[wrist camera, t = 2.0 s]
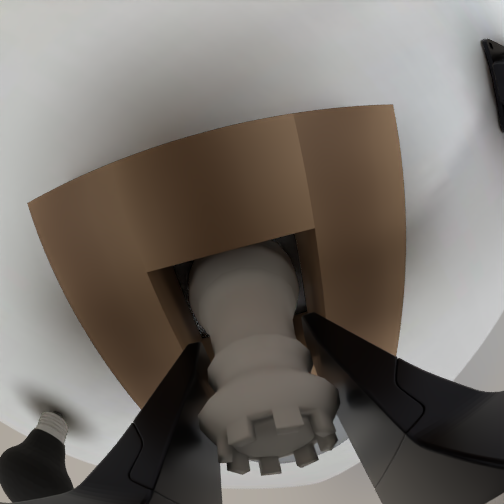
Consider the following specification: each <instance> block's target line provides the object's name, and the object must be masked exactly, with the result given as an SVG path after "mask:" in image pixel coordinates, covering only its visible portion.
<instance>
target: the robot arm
mask: <svg viewBox="0 0 504 504" xmlns="http://www.w3.org/2000/svg"><path fill="white" fill-rule="evenodd" d="M483 46H484V49H485V52H486V55H487V59H488V62H489V66H490V70H491V74H492V78H493V83H494V87H495V92H496V98H497V103H498V110H499V116H500V124H501V129H502V131H503V132H504V46H502V45H500V44H498V43H496V42H494V41H492V40H490V39H483ZM301 320H302V326H303V332H304V338H305V341H306V344H307V347H308V350H310V353H311V356H312V360H313V364H314V367H315V370H316V373H317V375H318V376H319V377H322V378H325V379H326V380H327V381H328V382H330V383H331V384H332V385H334V386H335V387H336V388H337V389H338V390H339V396H340V403H341V404H340V406H339V409H338V411H337V416H338V418H339V420H340V422H341V424H342V426H343V428H344V430H345V432H346V434H347V436H348V438H349V440H350V442H351V443H352V445H353V447H354V449H355V451H356V453H357V455H358V457H359V459H360V461H361V463H362V465H363V467H364V469H365V471H366V473H367V475H368V477H369V479H370V480H371V482H372V484H373V486H374V488H375V490H376V492H377V494H378V496H379V498H380V500H381V502H382V503H383V504H504V391H501V392H484V391H479V390H475V389H473V388H470V387H467V386H464V385H461V384H458V383H455V382H453V381H450V380H447V379H444V378H442V377H439V376H437V375H434V374H432V373H429V372H427V371H424V370H422V369H420V368H418V367H416V366H414V365H412V364H410V363H408V362H406V361H404V360H402V359H400V358H398V359H397V357H396V356H394V355H392V354H391V353H389V352H387V351H385V350H383V349H381V348H379V347H378V346H376V345H374V344H372V343H370V342H368V341H366V340H365V339H363V338H361V337H359V336H357V335H355V334H354V333H352V332H350V331H348V330H346V329H344V328H343V327H341V326H339V325H337V324H335V323H334V322H332V321H330V320H328V319H326V318H325V317H323V316H321V315H319V314H317V313H316V312H311V313H308V314H304V315H302V317H301ZM210 364H211V362H210V359H209V357H208V355H207V352H206V350H205V348H204V346H203V344H202V343H201V342H194V343H190V344H188V345H187V346H186V347H185V349H184V350H183V352H182V353H181V354H180V356H179V357H178V359H177V360H176V362H175V363H174V364H173V366H172V367H171V369H170V370H169V371H168V373H167V374H166V376H165V377H164V378H163V380H162V381H161V383H160V384H159V385H158V387H157V388H156V390H155V391H154V393H153V394H152V395H151V397H150V398H149V400H148V401H147V402H146V404H145V405H144V407H143V408H142V409H141V411H140V412H139V414H138V415H137V417H136V418H135V419H134V421H133V423H131V425H130V426H129V428H128V429H127V430H126V432H125V433H124V434H123V436H122V437H121V438H120V440H119V441H118V442H117V444H116V445H115V446H114V447H113V449H112V450H111V451H110V452H109V453H108V454H107V456H106V457H105V458H104V459H103V460H102V461H101V462H100V463H99V465H98V466H97V467H96V468H95V469H94V470H93V471H92V472H91V473H90V474H89V476H88V477H87V478H86V479H85V480H84V481H83V482H82V483H81V484H80V485H79V486H77V487H76V488H75V489H73V490H71V491H69V492H66V493H63V494H59V495H55V496H50V497H46V498H40V499H35V500H29V501H22V502H15V503H2V502H0V504H222V492H221V474H220V463H218V451H217V446H216V445H215V444H214V443H213V442H212V441H211V440H210V439H209V438H208V437H207V436H206V435H205V434H204V433H203V432H202V431H201V430H200V428H199V420H198V414H199V413H200V411H201V410H202V409H203V407H204V406H205V404H206V403H207V401H208V400H209V399H210V398H211V397H212V396H213V395H214V394H215V392H214V391H213V389H212V388H211V386H210V385H209V383H208V367H209V365H210Z"/></svg>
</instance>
